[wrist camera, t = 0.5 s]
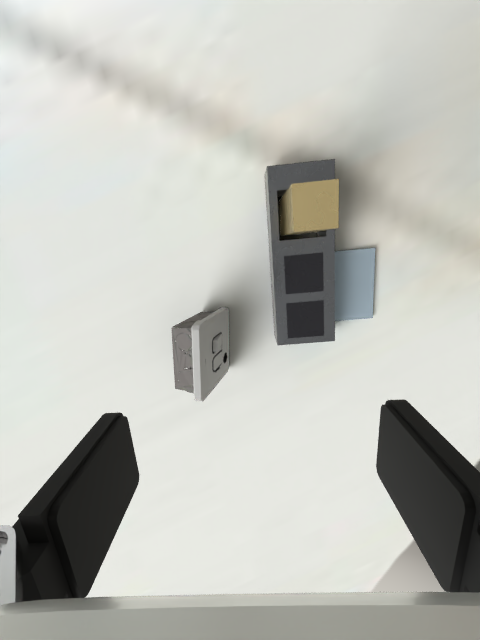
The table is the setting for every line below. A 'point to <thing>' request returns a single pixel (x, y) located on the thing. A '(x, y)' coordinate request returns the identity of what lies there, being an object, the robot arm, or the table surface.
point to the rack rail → (300, 264)
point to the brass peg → (309, 207)
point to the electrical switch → (201, 352)
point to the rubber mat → (354, 284)
